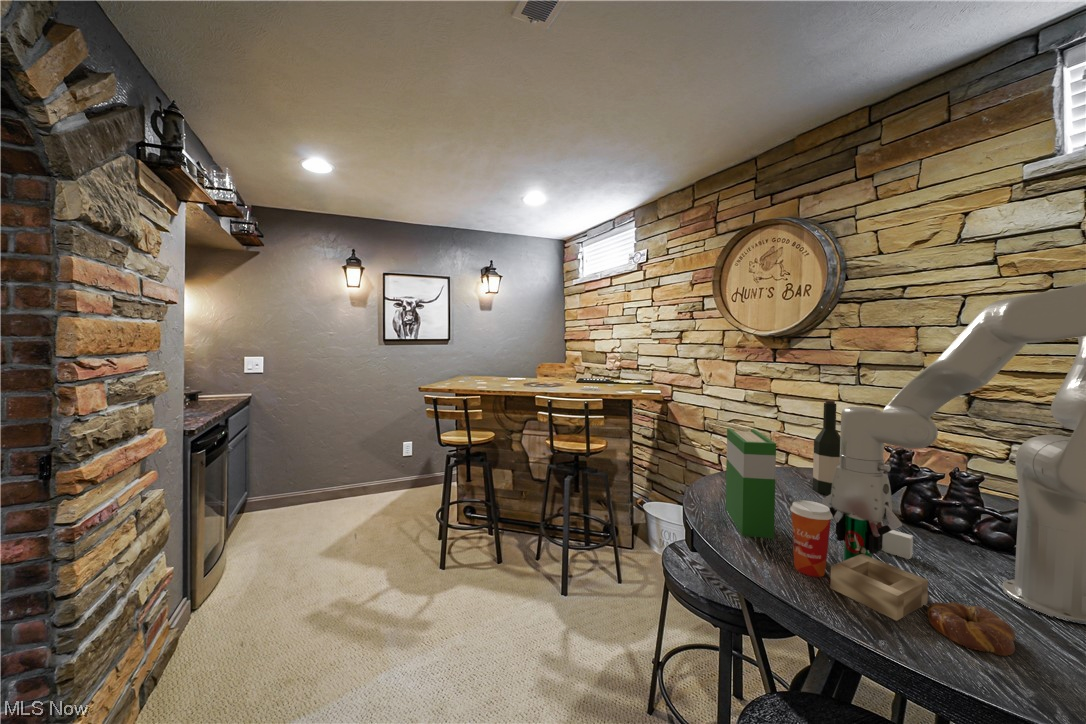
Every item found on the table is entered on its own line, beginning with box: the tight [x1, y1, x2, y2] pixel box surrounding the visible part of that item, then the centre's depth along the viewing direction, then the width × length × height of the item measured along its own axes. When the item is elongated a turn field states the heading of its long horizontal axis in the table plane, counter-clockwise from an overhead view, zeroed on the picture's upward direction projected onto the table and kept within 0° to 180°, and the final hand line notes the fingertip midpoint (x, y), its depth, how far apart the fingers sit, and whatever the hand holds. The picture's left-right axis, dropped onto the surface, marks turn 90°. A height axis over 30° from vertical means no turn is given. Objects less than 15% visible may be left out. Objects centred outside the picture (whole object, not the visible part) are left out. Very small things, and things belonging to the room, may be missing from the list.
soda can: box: [842, 513, 873, 561], centre depth 92 cm, size 5×5×12 cm
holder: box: [829, 554, 929, 622], centre depth 81 cm, size 11×11×4 cm
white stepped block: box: [881, 529, 914, 560], centre depth 99 cm, size 15×11×6 cm
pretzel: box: [926, 601, 1016, 657], centre depth 70 cm, size 12×11×4 cm
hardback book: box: [725, 427, 777, 539], centre depth 113 cm, size 18×7×24 cm, turn 169°
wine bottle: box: [812, 399, 840, 496], centre depth 137 cm, size 8×8×30 cm
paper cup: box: [789, 499, 833, 578], centre depth 90 cm, size 8×8×14 cm
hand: (857, 544), depth 92 cm, fingers open, 5 cm apart
